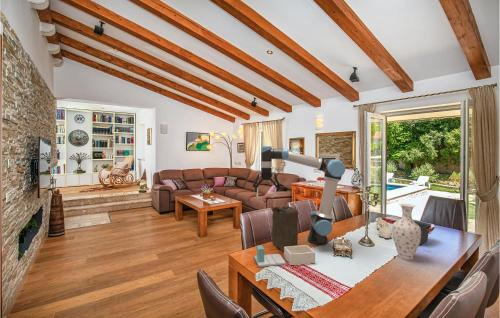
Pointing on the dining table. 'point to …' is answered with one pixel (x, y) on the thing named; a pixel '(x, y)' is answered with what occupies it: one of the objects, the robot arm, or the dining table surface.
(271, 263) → the lid
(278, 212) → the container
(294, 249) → the tub
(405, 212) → the vase
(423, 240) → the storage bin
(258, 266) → the mat
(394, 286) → the dining table surface
